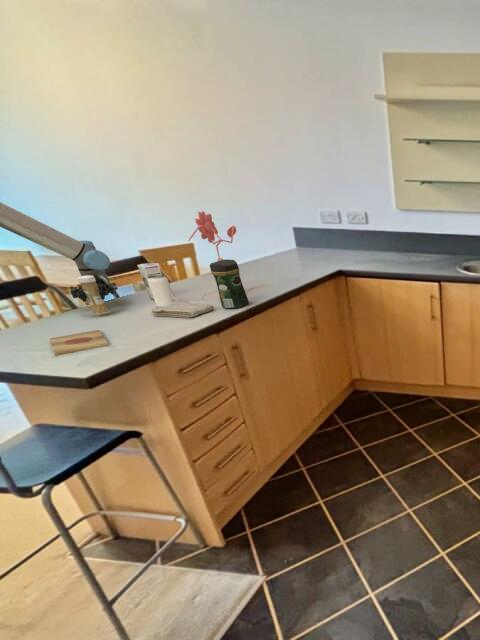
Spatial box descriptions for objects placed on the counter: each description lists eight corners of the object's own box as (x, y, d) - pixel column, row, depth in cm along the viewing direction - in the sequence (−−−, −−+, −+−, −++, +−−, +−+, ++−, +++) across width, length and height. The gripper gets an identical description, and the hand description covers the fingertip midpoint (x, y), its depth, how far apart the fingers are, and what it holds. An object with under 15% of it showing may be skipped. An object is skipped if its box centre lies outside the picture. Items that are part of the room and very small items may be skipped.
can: (176, 302, 175) (165, 273, 169) (177, 306, 170) (166, 276, 165) (156, 305, 171) (145, 275, 166) (157, 308, 167) (146, 278, 161)
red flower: (256, 288, 199) (236, 209, 183) (224, 302, 176) (198, 214, 160) (224, 287, 198) (200, 208, 183) (188, 302, 175) (157, 213, 159)
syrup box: (171, 297, 181) (159, 263, 175) (155, 300, 177) (142, 266, 170) (165, 295, 184) (153, 262, 177) (149, 298, 179) (136, 264, 173)
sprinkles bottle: (108, 312, 157) (92, 276, 151) (91, 314, 154) (75, 278, 148) (109, 309, 160) (94, 274, 154) (93, 311, 158) (77, 275, 152)
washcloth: (175, 307, 168) (172, 300, 167) (216, 309, 166) (214, 302, 165) (149, 316, 157) (146, 308, 156) (193, 318, 156) (190, 310, 154)
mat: (50, 340, 134) (49, 338, 133) (100, 331, 142) (98, 329, 141) (55, 355, 123) (54, 353, 123) (108, 345, 131) (107, 342, 131)
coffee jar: (235, 302, 176) (222, 257, 168) (252, 303, 175) (240, 258, 167) (218, 309, 167) (203, 262, 159) (236, 310, 167) (222, 263, 158)
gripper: (127, 291, 173) (127, 303, 157) (69, 297, 163) (63, 310, 147) (119, 272, 170) (119, 283, 154) (60, 278, 159) (53, 289, 144)
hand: (92, 296), depth 150 cm, fingers closed on sprinkles bottle, 4 cm apart
